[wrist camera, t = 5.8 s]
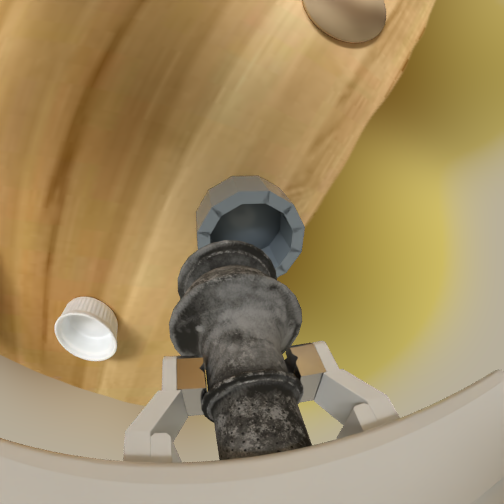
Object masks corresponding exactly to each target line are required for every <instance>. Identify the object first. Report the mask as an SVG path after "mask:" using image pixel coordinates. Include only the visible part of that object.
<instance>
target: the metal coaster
mask: <svg viewBox="0 0 504 504" xmlns="http://www.w3.org/2000/svg"><path fill="white" fill-rule="evenodd" d="M302 2H303V6H304V8H305V11H306V13H307V14H308V16H309V17H310V19H311V20H312V21H313V23H314V24H315V25H316V26H317V27H318V28H319V29H321V30H322V31H323V32H324V33H326V34H327V35H329V36H331V37H333V38H335V39H337V40H340V41H344V42H349V43H359V42H365V41H368V40H371V39H373V38H374V37H376V36H377V35H378V34H379V33H380V32H381V31H382V29H383V27H384V25H385V21H386V8H385V4H384V1H383V0H302Z"/></svg>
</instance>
